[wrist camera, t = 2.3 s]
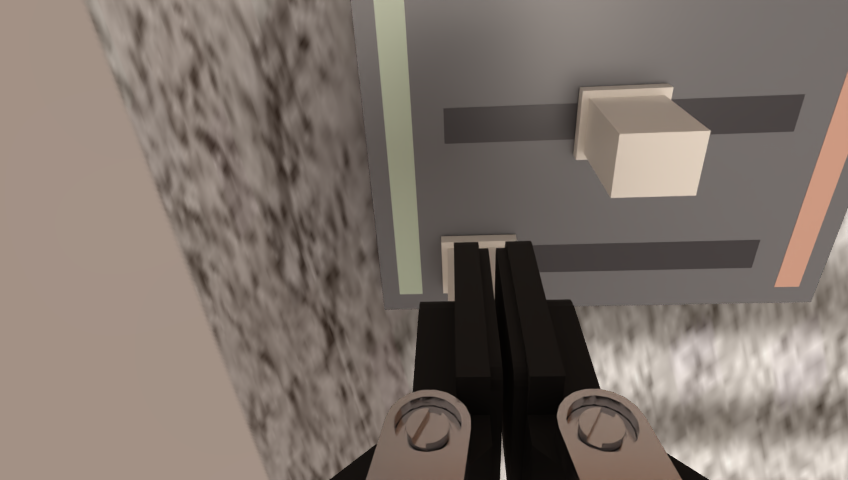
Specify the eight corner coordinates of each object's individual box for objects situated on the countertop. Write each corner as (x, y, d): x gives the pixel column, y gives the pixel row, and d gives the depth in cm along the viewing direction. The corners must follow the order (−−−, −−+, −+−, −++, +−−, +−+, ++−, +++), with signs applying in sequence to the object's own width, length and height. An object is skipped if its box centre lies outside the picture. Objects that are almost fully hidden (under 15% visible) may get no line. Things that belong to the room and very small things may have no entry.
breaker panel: (789, 279, 29) (811, 302, 27) (388, 287, 30) (384, 309, 29) (954, -183, 19) (1005, -194, 17) (343, -143, 20) (334, -149, 19)
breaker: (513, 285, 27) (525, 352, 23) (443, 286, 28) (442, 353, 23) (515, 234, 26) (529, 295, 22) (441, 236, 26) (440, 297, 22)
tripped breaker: (655, 152, 24) (702, 202, 19) (573, 154, 24) (601, 205, 19) (668, 83, 22) (722, 121, 18) (579, 87, 22) (611, 125, 18)
